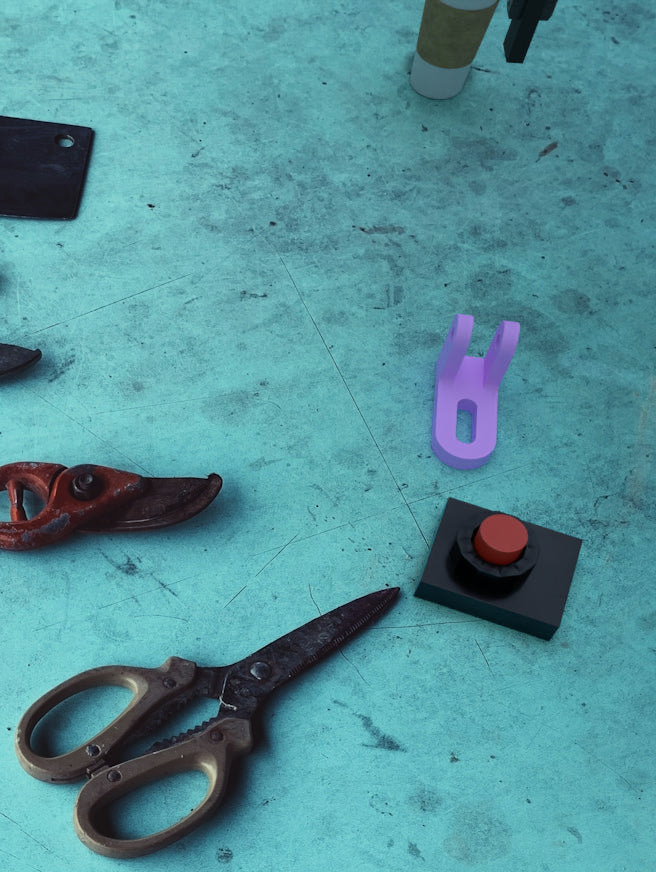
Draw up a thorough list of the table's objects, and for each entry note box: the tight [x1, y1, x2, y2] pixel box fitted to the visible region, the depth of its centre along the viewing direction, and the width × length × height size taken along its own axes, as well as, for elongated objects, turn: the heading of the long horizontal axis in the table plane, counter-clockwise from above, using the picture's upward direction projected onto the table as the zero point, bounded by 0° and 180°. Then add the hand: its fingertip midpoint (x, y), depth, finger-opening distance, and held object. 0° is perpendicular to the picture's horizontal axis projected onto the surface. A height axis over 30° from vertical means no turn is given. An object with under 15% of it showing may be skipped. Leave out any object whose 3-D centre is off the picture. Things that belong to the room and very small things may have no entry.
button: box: [474, 514, 528, 565], centre depth 101 cm, size 4×4×2 cm
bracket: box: [430, 313, 521, 471], centre depth 110 cm, size 13×6×7 cm, turn 169°
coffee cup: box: [409, 0, 501, 100], centre depth 128 cm, size 8×8×15 cm
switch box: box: [412, 496, 584, 642], centre depth 103 cm, size 12×10×4 cm
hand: (512, 53), depth 107 cm, fingers closed
